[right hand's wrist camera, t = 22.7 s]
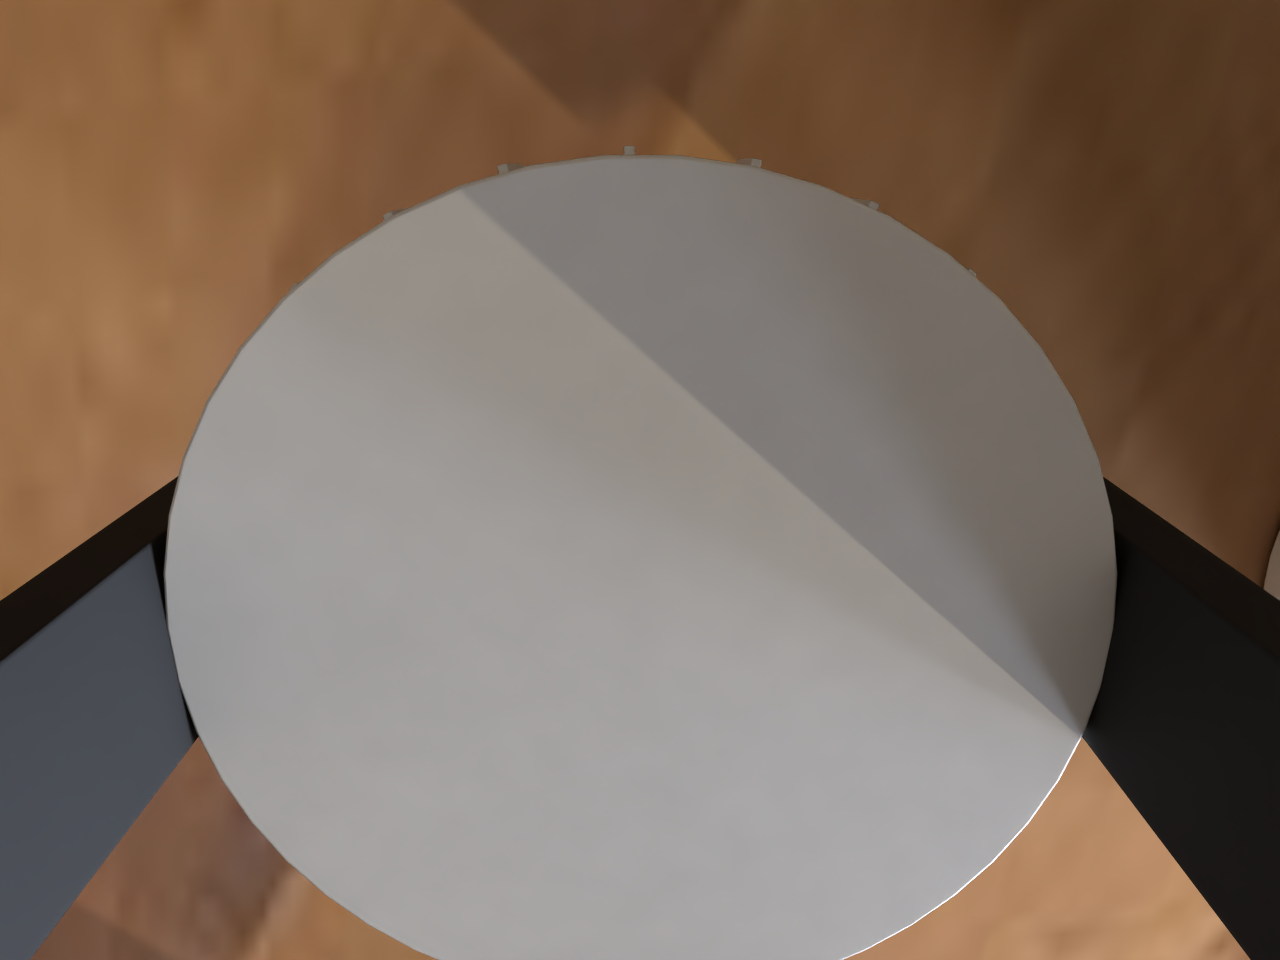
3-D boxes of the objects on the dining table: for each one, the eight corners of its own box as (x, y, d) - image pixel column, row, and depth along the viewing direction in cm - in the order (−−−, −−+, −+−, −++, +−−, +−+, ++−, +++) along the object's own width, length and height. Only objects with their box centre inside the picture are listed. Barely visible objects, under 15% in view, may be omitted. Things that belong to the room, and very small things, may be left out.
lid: (849, 965, 14) (880, 1080, 13) (173, 788, 13) (99, 887, 11) (1208, 331, 11) (1324, 365, 9) (323, 6, 10) (249, -32, 8)
